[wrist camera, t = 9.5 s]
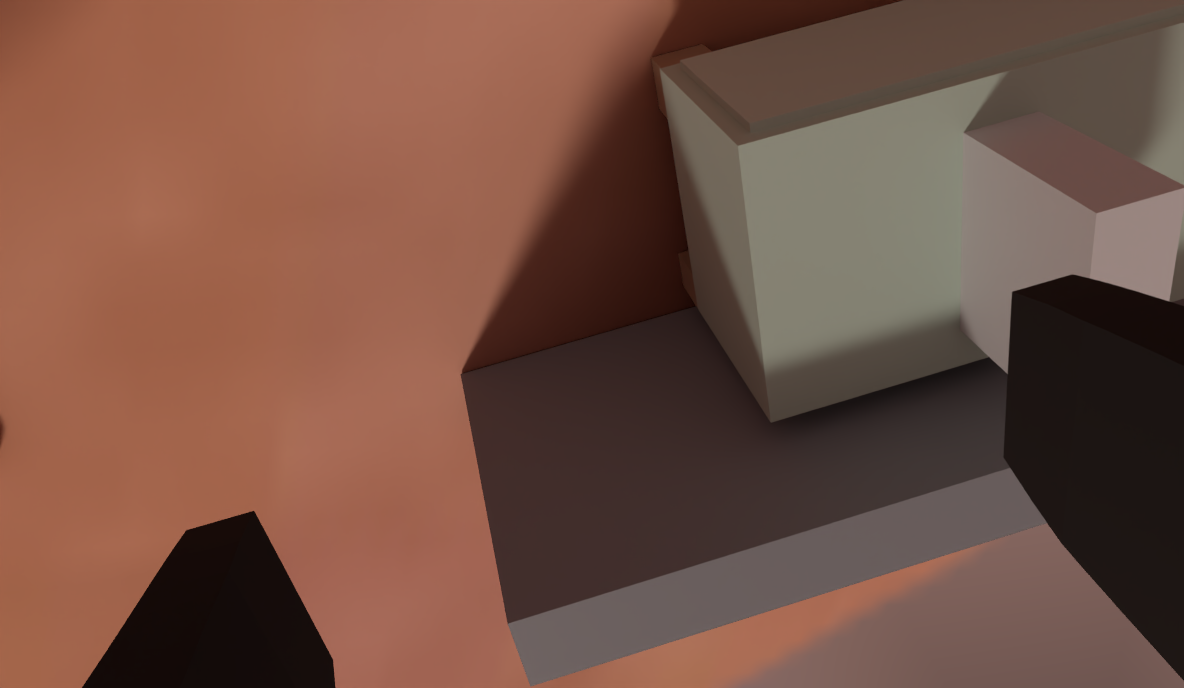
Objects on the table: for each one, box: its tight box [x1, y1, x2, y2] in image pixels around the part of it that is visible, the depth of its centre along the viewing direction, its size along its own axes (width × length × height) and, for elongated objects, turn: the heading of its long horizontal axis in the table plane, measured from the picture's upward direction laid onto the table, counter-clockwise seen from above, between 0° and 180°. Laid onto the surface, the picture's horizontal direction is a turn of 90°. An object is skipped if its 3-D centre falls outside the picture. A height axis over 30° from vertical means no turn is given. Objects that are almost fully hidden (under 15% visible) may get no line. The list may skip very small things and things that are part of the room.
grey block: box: [651, 0, 1184, 423], centre depth 16 cm, size 8×5×8 cm, turn 101°
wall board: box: [461, 299, 1184, 686], centre depth 18 cm, size 18×4×7 cm, turn 100°
